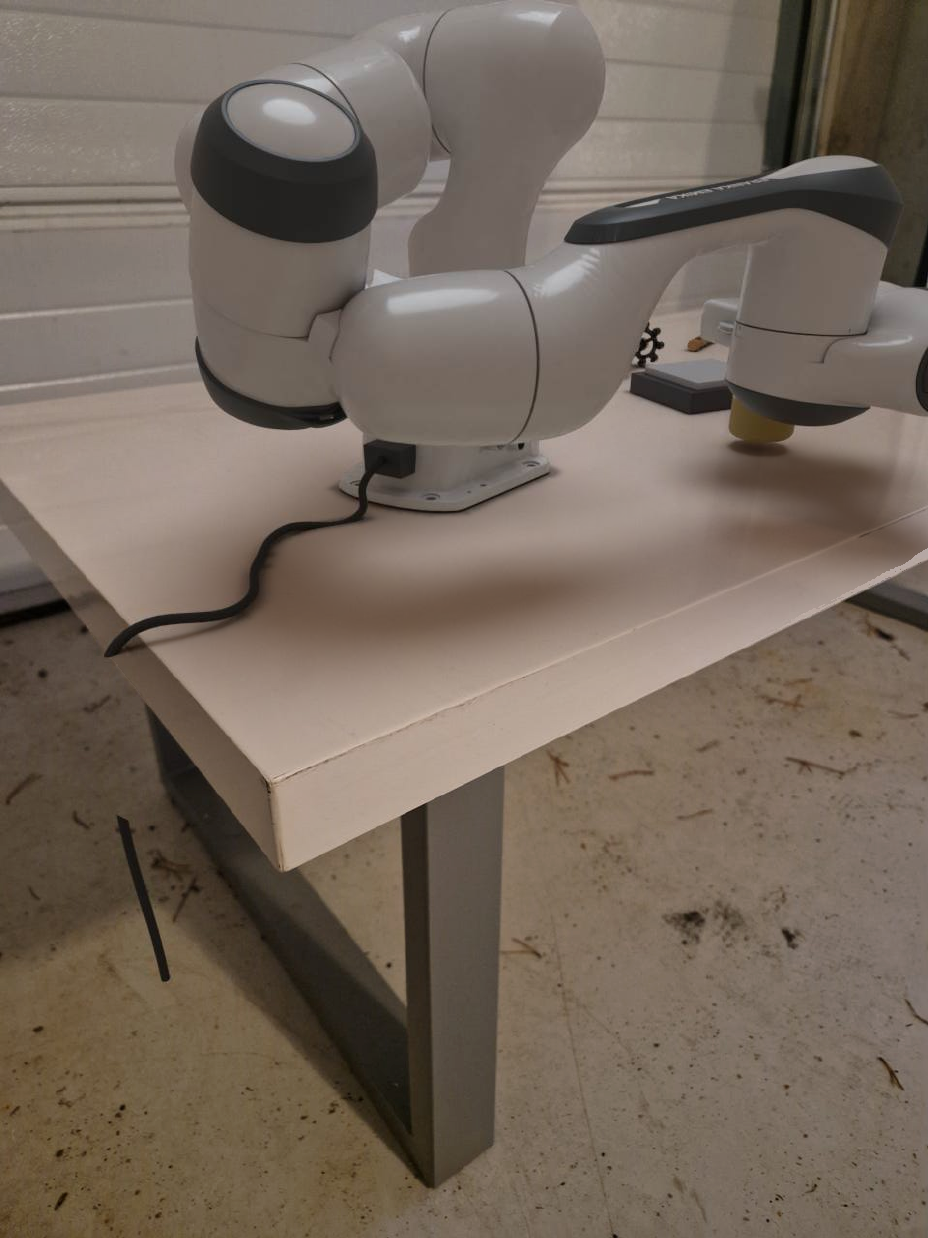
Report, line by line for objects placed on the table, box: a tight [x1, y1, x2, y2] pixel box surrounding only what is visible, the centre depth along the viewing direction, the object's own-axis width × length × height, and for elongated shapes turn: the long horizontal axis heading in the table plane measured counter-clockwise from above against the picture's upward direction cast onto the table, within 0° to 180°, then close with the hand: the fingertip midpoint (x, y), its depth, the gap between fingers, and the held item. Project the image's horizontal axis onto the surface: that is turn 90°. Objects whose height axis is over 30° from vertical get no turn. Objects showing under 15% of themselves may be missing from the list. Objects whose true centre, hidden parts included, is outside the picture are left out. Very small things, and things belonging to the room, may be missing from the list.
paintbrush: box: [687, 334, 710, 352], centre depth 144 cm, size 4×3×20 cm
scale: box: [629, 357, 733, 415], centre depth 110 cm, size 13×13×4 cm
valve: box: [633, 321, 666, 367], centre depth 123 cm, size 7×7×12 cm
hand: (776, 307), depth 85 cm, fingers closed on paper tube, 7 cm apart
